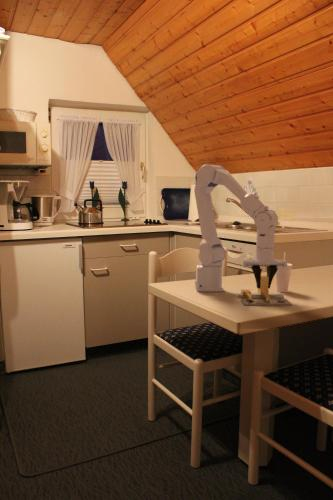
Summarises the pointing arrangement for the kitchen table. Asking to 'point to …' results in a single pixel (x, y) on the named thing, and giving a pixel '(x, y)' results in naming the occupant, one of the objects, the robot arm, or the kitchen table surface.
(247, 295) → the dividers bar
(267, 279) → the orange block with stem
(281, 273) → the smoothie
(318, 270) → the kitchen table surface
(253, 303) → the flange plate
